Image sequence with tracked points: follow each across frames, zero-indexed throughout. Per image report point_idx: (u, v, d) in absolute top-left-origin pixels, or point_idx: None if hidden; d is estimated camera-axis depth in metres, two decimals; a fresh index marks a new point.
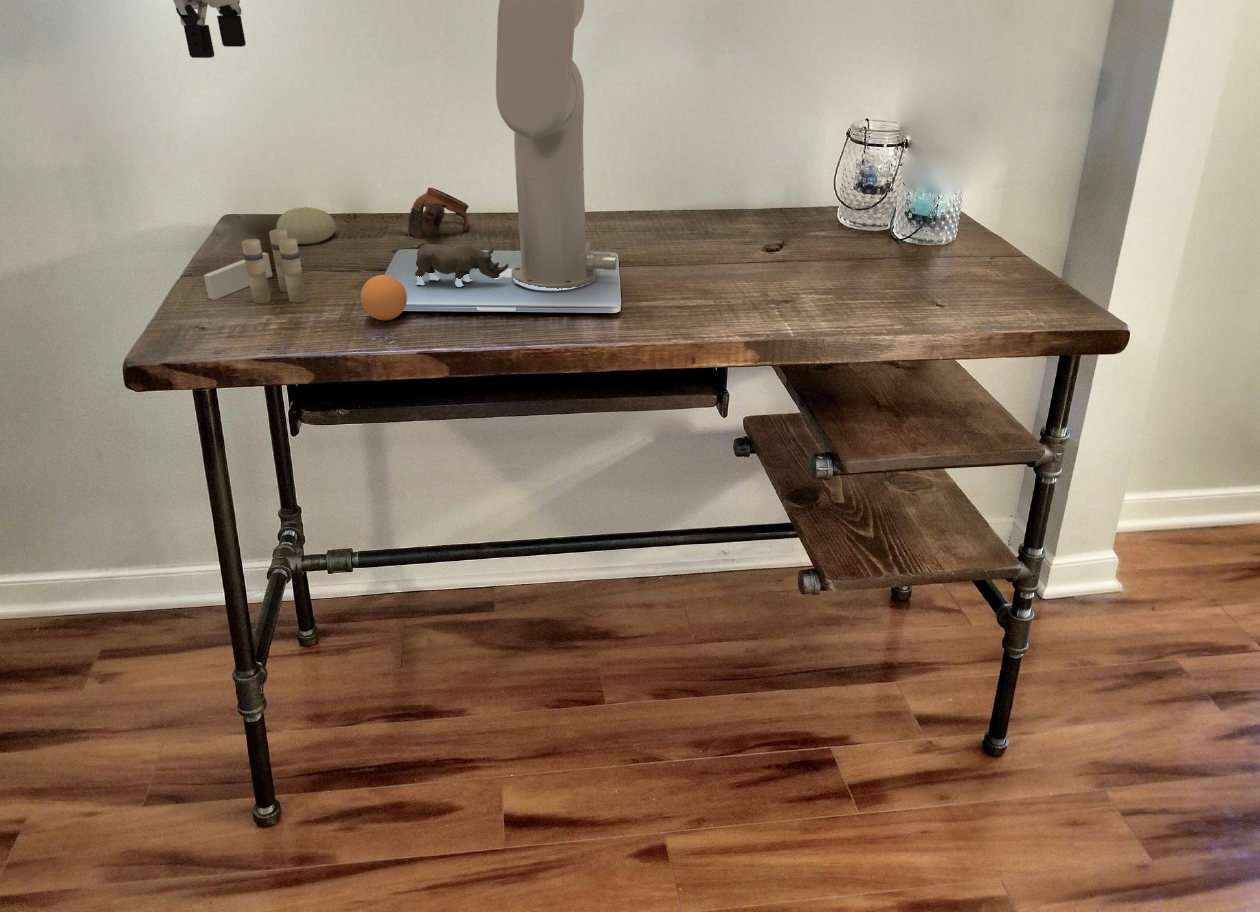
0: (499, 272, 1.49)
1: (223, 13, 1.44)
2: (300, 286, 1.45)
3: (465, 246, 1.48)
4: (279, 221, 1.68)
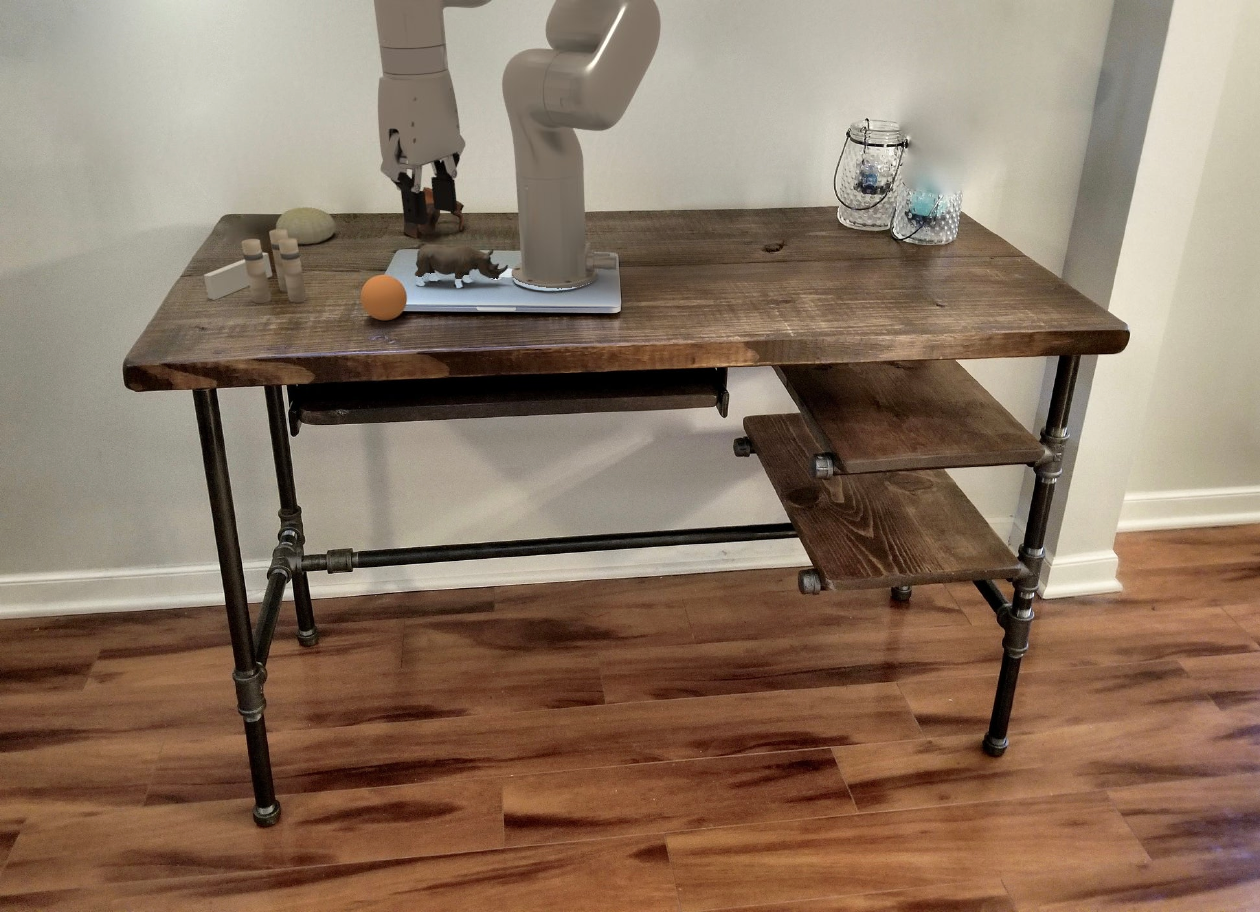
0: (498, 273, 1.49)
1: None
2: (300, 286, 1.45)
3: (465, 247, 1.48)
4: (279, 221, 1.68)
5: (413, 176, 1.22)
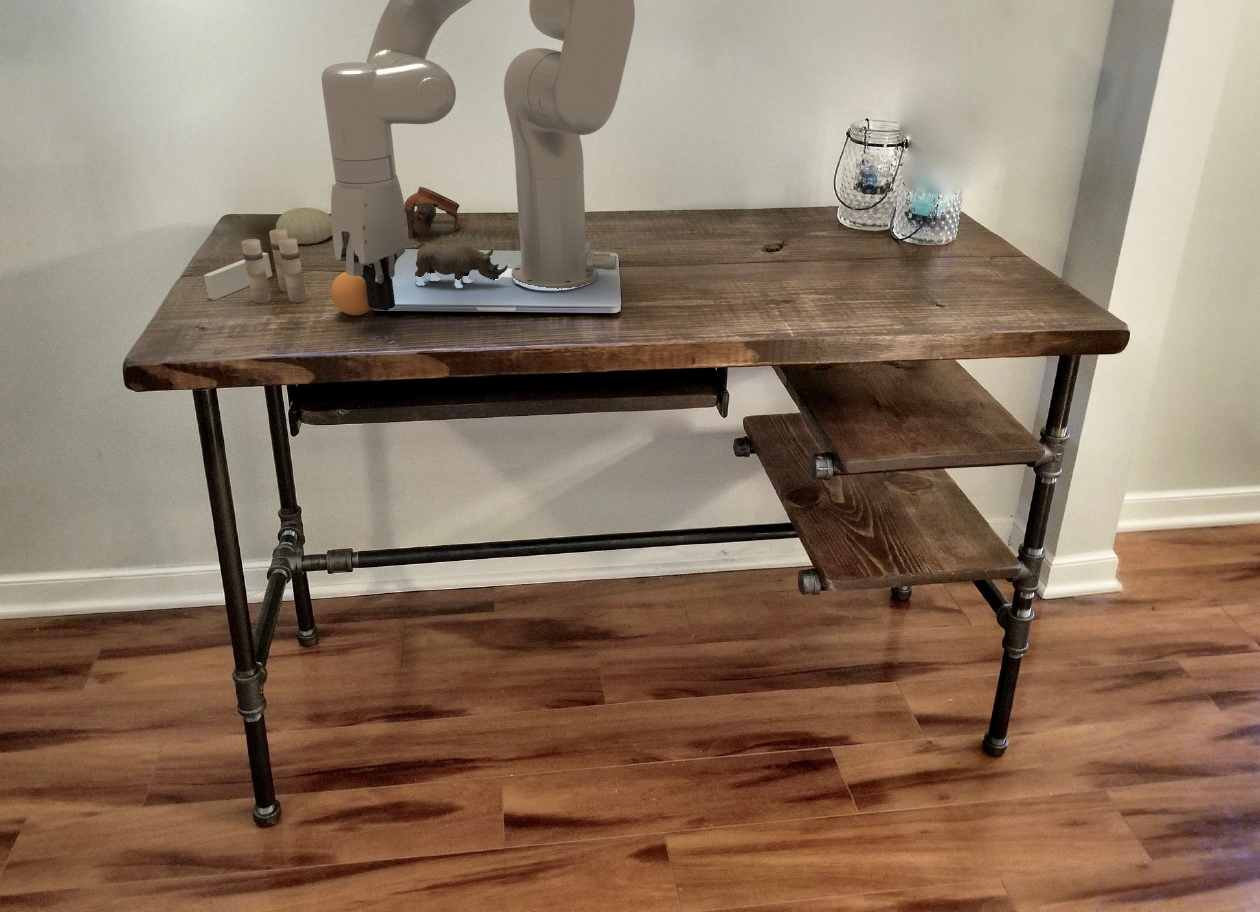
0: (498, 273, 1.49)
1: None
2: (300, 286, 1.45)
3: (464, 247, 1.47)
4: (279, 221, 1.68)
5: (374, 271, 1.34)
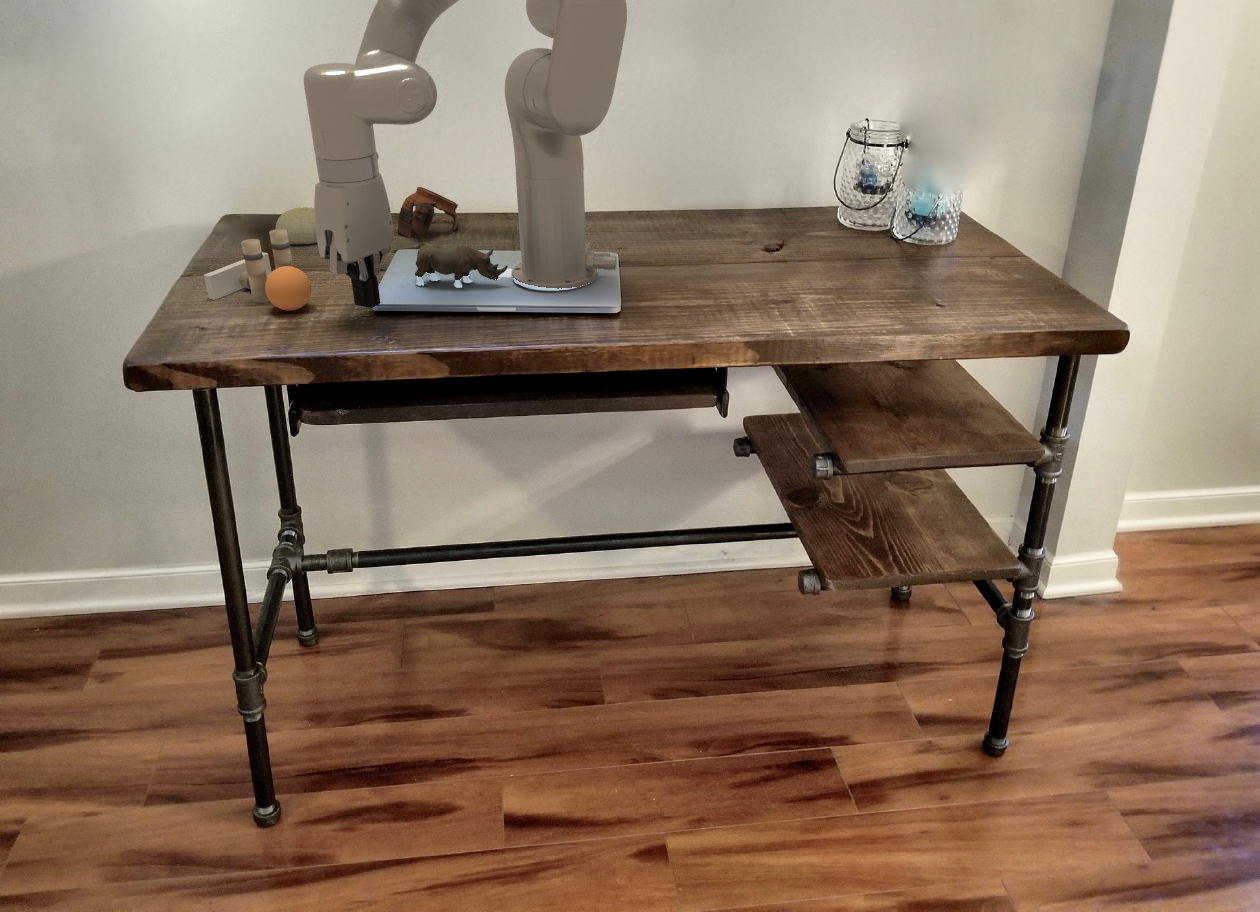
0: (498, 273, 1.49)
1: None
2: None
3: (464, 247, 1.47)
4: (278, 221, 1.68)
5: (358, 269, 1.35)
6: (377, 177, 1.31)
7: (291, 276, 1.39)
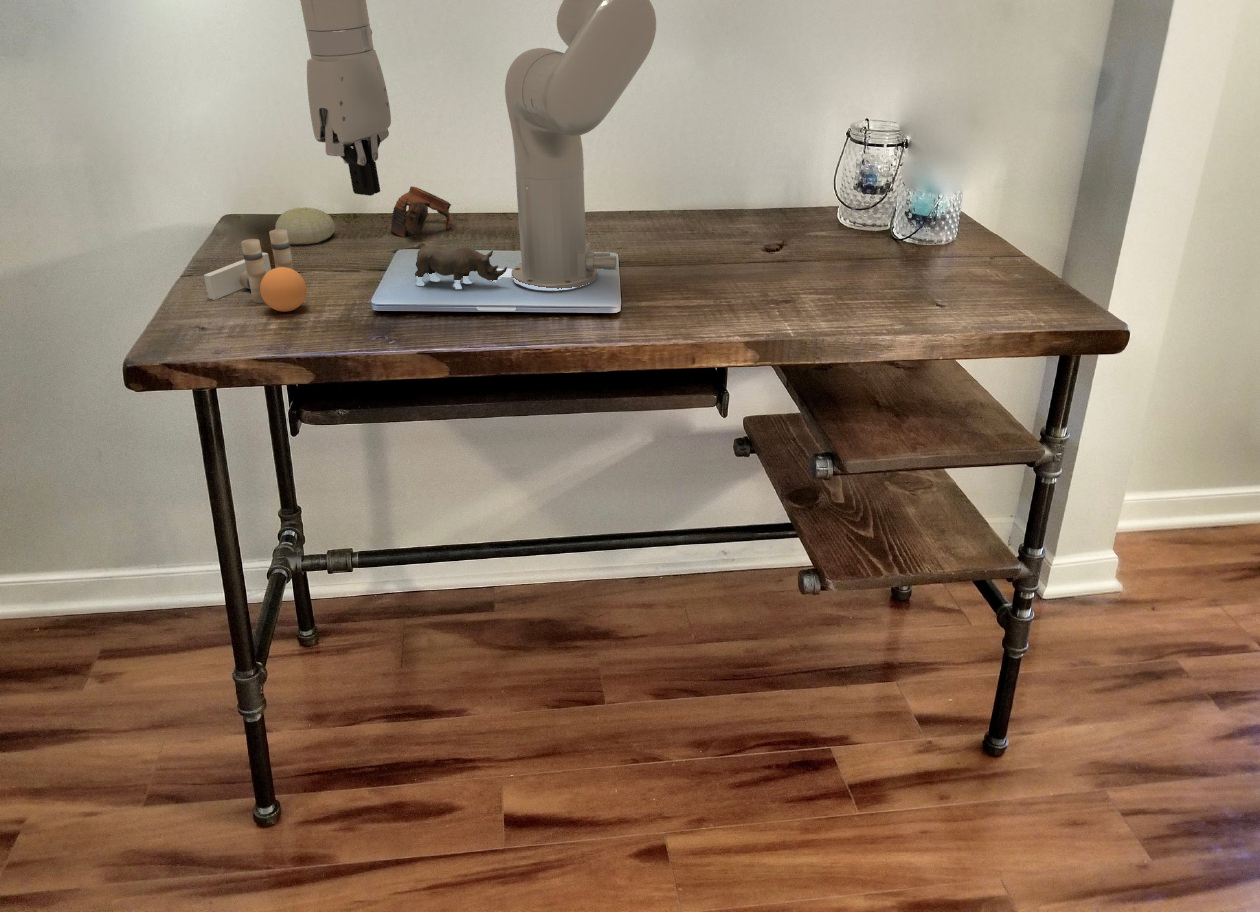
0: (497, 275, 1.49)
1: None
2: None
3: (464, 248, 1.47)
4: (278, 221, 1.68)
5: (355, 152, 1.30)
6: (371, 51, 1.25)
7: (282, 278, 1.39)
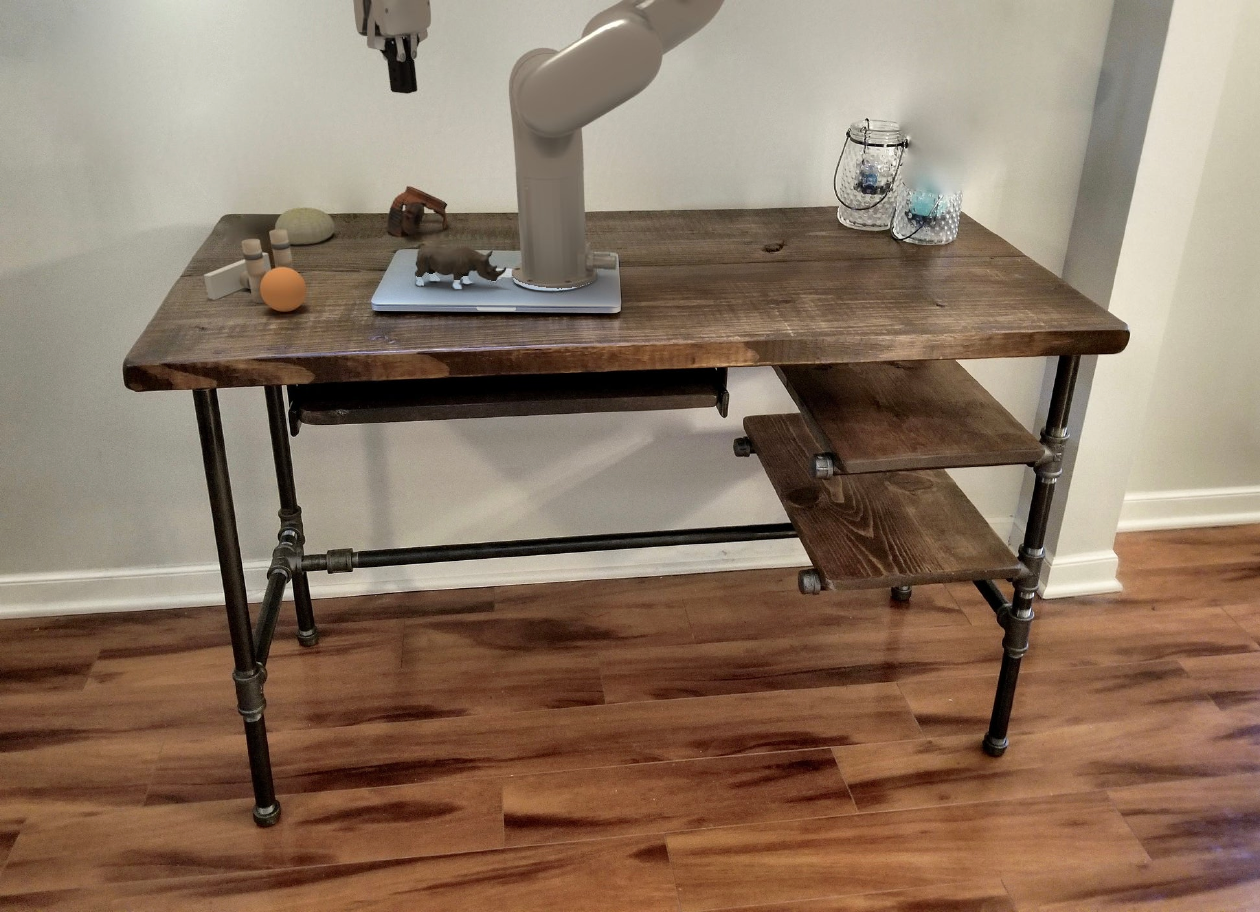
0: (496, 275, 1.48)
1: None
2: None
3: (463, 248, 1.47)
4: (278, 221, 1.68)
5: (396, 48, 1.32)
6: None
7: (282, 278, 1.39)
